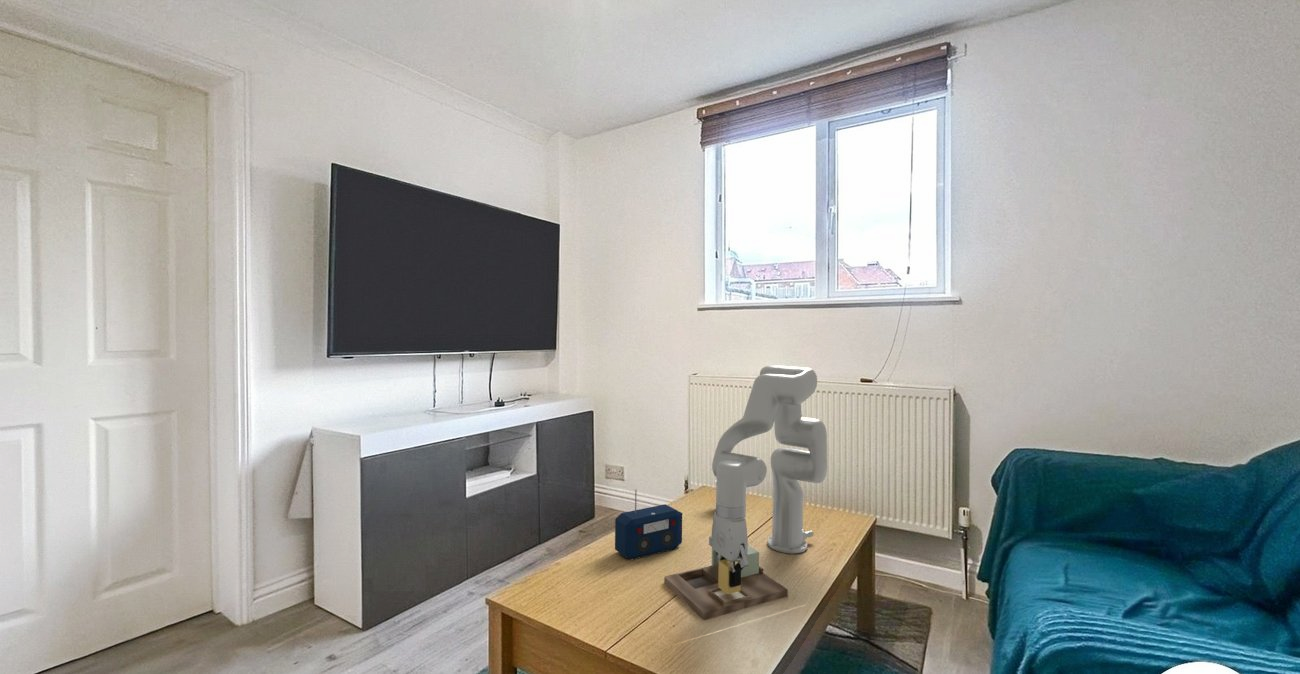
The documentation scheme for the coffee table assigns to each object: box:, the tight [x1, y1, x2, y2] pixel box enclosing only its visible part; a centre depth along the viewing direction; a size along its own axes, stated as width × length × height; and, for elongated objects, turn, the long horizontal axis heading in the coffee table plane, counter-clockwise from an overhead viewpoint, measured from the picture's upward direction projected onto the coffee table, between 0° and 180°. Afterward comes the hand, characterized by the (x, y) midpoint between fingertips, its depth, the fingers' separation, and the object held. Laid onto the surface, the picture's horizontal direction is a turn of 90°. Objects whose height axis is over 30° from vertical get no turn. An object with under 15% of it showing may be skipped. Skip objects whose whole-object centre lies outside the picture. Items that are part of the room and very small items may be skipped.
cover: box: [708, 535, 760, 577], centre depth 147 cm, size 10×10×8 cm
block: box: [718, 559, 741, 594], centre depth 133 cm, size 4×4×7 cm
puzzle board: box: [663, 564, 789, 621], centre depth 140 cm, size 26×20×3 cm
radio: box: [614, 488, 683, 560], centre depth 164 cm, size 21×9×20 cm, turn 122°
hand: (729, 581), depth 133 cm, fingers closed on block, 4 cm apart
